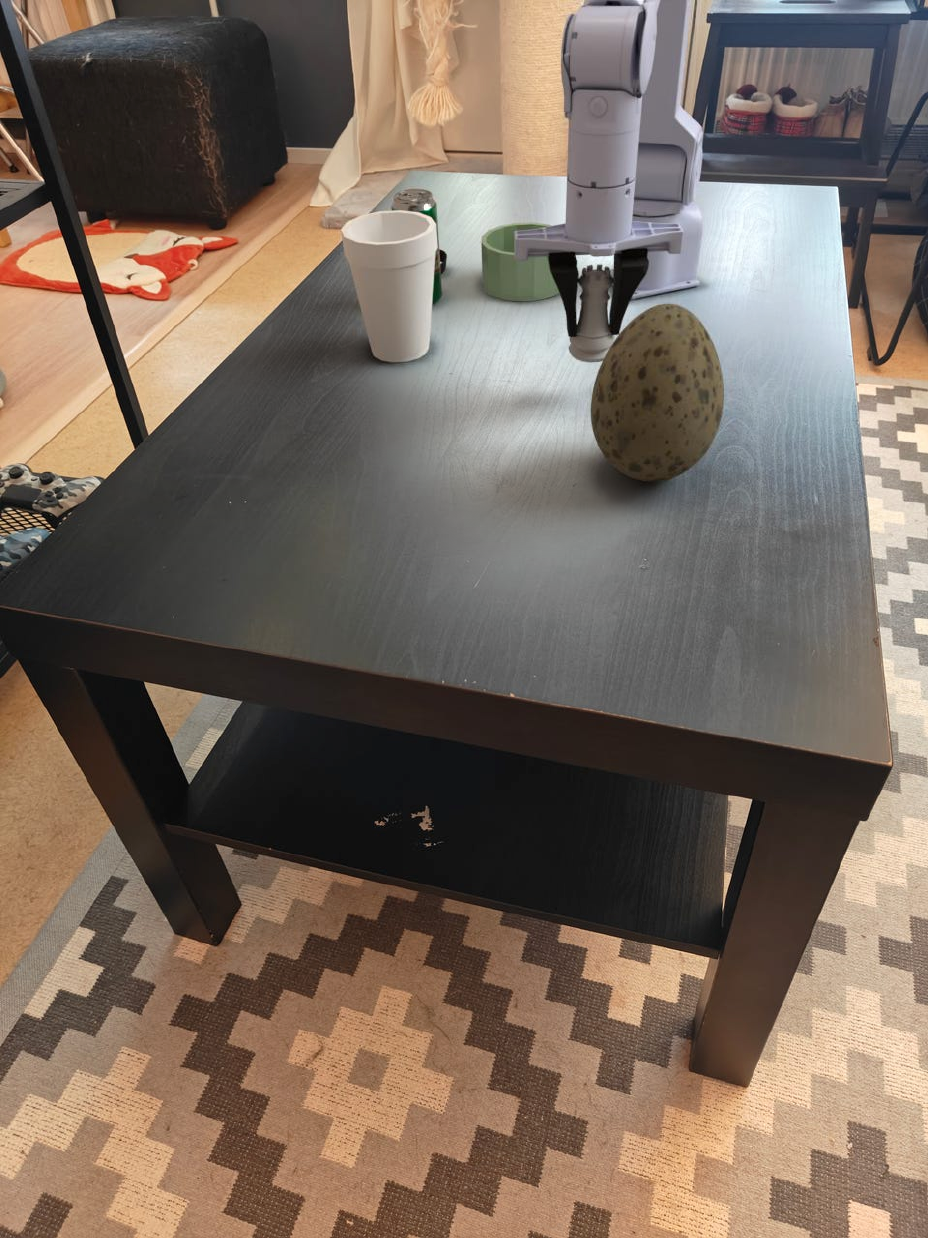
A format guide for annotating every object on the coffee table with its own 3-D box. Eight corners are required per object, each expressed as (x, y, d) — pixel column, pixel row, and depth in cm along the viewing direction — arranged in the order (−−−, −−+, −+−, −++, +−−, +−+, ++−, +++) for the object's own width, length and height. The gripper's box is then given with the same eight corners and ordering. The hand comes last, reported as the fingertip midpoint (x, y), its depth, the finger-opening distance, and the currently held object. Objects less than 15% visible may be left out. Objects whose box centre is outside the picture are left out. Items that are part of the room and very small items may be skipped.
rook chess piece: (602, 368, 83) (608, 283, 78) (559, 357, 85) (562, 274, 80) (622, 348, 86) (629, 265, 81) (580, 338, 88) (584, 256, 82)
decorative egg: (732, 462, 79) (764, 297, 69) (673, 523, 73) (698, 351, 63) (626, 427, 84) (641, 268, 74) (563, 481, 78) (569, 316, 68)
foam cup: (377, 377, 94) (362, 251, 85) (344, 343, 100) (327, 222, 91) (458, 354, 96) (451, 230, 88) (421, 322, 103) (411, 204, 94)
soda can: (437, 310, 105) (430, 203, 97) (395, 308, 106) (385, 201, 98) (446, 292, 108) (440, 187, 100) (405, 290, 109) (396, 186, 101)
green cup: (545, 261, 114) (546, 217, 110) (580, 291, 107) (582, 245, 103) (470, 276, 112) (469, 230, 108) (501, 307, 105) (500, 260, 101)
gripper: (516, 197, 72) (517, 354, 81) (697, 188, 72) (677, 347, 81) (512, 169, 77) (513, 320, 87) (681, 161, 77) (664, 313, 86)
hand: (592, 331), depth 84 cm, fingers closed on rook chess piece, 3 cm apart
